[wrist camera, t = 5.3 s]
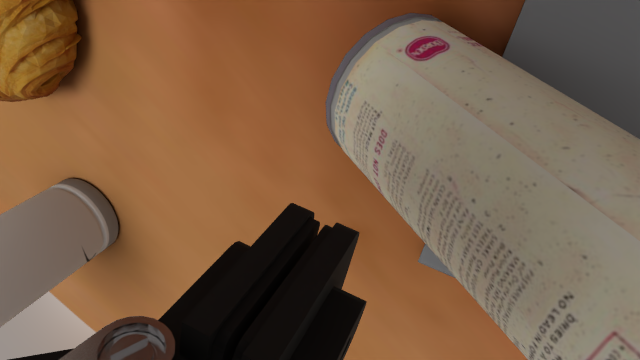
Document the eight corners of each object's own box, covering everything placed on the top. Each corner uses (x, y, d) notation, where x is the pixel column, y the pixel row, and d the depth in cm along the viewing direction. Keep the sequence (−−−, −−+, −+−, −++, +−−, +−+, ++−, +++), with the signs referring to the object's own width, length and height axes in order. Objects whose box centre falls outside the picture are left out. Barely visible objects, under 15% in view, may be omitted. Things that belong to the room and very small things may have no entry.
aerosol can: (457, 116, 24) (1027, 562, 11) (339, 178, 23) (824, 771, 10) (459, -14, 19) (1503, 507, 6) (310, 55, 18) (1219, 918, 5)
